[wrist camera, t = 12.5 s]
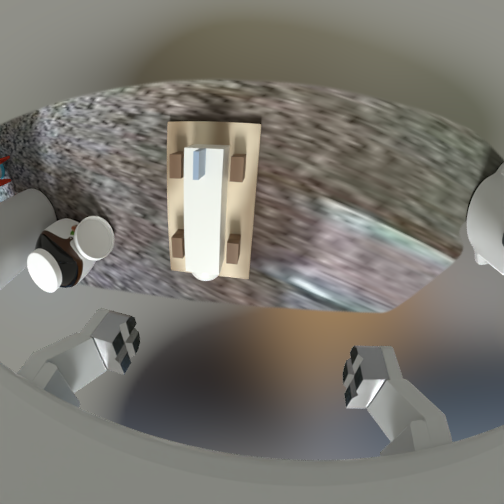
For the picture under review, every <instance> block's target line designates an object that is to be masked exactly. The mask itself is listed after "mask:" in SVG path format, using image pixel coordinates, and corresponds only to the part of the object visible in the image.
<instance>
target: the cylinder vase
mask: <svg viewBox="0 0 504 504" xmlns="http://www.w3.org/2000/svg"><path fill="white" fill-rule="evenodd" d="M56 221H57V218H56V214H55V211H54V209H53V207H52V205H51V203H50V201H49V200H48V198H47V197H46V196H45V195H44V194H43V193H42V192H40V191H39V190H36V189H27V190H24V191H22V192H20V193H18V194H16V195H14V196H12V197H10V198H8V199H6V200H4V201H2V202H0V290H1V289H2V288H3V287H4V286H5V285H6V284H7V283H9V282H10V281H11V280H12V279H13V278H14V277H15V276H16V275H18V274H19V273H20V272H21V271H22V270H23V269H25V268H26V267H27V259H28V256H29V254H31V253H32V252H33V251H34V250H35V245H36V242H37V239H38V237H39V235H40V234H41V233H42V231H43V230H44V229H46V228H47V227H48V226H50V225H52V224H53V223H55V222H56Z"/></svg>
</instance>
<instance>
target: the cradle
mask: <svg viewBox="0 0 504 504" xmlns="http://www.w3.org/2000/svg"><path fill="white" fill-rule="evenodd" d="M260 136H261V124H253V123H237V122H211V121H174V122H168V127H167V203H168V228H169V246H170V260H171V270H174V271H183V272H189V271H186V266H185V241H184V148H185V147H188V146H191V145H194V144H209V145H230V152H229V169H228V188H227V208H226V232H225V259H224V262H223V265H222V269H221V272H220V274H219V275H218V276H225V277H234V278H244V279H249V272H250V259H251V247H252V235H253V222H254V210H255V198H256V185H257V173H258V161H259V148H260ZM191 273H192V272H191Z"/></svg>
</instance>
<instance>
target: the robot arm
mask: <svg viewBox="0 0 504 504" xmlns="http://www.w3.org/2000/svg"><path fill="white" fill-rule="evenodd" d="M467 233H468V238H469V241H470V243H471V245H472V246H473V248H474V252H475V253H474V254H475V261H476V262H477V263H478V264H479V265H483V264H490V265H491V266H493V267H494V268H495V269H496V270H498V271H499V272H500V273H501V274H502V275H504V163H503V164H501V166H500V167H499V168H498V170H497V171H496V173H494V174H493V175H491V176H489V177H488V178H486V179H485V180H484V181H483V182H482V183H481V184H480V185H479V187H478V188H477V189H476V191H475V193H474V195H473V197H472V200H471V202H470V205H469V209H468V214H467ZM135 325H136V320H135V317H133V316H130V315H126V314H122V313H118V312H114V311H110V310H107V309H103V308H101V309H98V310H97V311H96V313H95V314H94V315H93V316H92V318H91V319H90V320H89V322H88V323H87V324H86V325H85V327H84V328H83V329H82V330H81V332H80V333H74V334H72V335H70V336H68V337H66V338H64V339H61V340H59V341H57V342H55V343H53V344H51V345H48V346H46V347H44V348H42V349H40V350H38V351H36V352H33V353H32V354H31V356H30V357H29V358H28V360H27V361H26V362H25V363H24V365H23V366H22V367H21V369H20V370H19V371H18V373H16V372H14V371H12V370H11V369H10V368H8V367H7V366H5V365H4V364H3V363H1V362H0V504H504V425H502V426H500V427H498V428H495V429H492V430H490V431H487V432H484V433H481V434H478V435H475V436H473V437H470V438H466V439H463V440H460V441H456V442H452V438H451V434H450V431H449V427H448V424H447V421H446V417H445V415H444V414H443V413H442V412H441V411H440V410H439V409H438V408H437V407H436V406H435V405H434V404H433V403H432V402H430V401H429V400H428V399H427V398H426V397H425V396H424V395H423V394H422V393H421V392H420V391H419V390H418V389H416V388H415V387H414V386H413V385H412V384H411V383H410V382H409V381H408V380H407V379H403V378H402V374H401V371H400V368H399V365H398V362H397V358H396V355H395V353H394V349H393V348H392V347H391V346H379V347H378V346H354V347H353V348H352V349H351V352H350V356H351V358H350V359H348V360H347V361H346V363H345V366H344V370H343V384H344V385H345V387H346V388H347V390H346V392H345V394H344V395H345V403H346V408H367V410H368V412H369V413H370V414H371V416H372V417H373V418H374V419H375V421H376V422H377V424H378V425H379V426H380V428H381V429H382V430H383V432H384V433H385V434H386V436H387V437H388V438H389V440H390V441H391V443H390V444H389V445H387V446H386V447H385V448H384V449H383V450H382V451H381V452H380V455H381V456H380V457H371V458H360V459H345V460H290V459H274V458H262V457H253V456H245V455H238V454H230V453H224V452H219V451H213V450H208V449H203V448H198V447H193V446H189V445H185V444H181V443H177V442H173V441H169V440H166V439H162V438H158V437H155V436H152V435H148V434H145V433H142V432H139V431H136V430H133V429H130V428H128V427H125V426H122V425H119V424H117V423H114V422H111V421H109V420H106V419H104V418H101V417H99V416H96V415H94V414H92V413H90V412H87V411H85V410H83V409H81V408H79V406H80V402H79V400H78V398H77V397H76V396H75V394H74V393H75V392H76V391H78V390H79V389H81V388H82V387H84V386H85V385H86V384H88V383H89V382H91V381H92V380H94V379H95V378H97V377H98V376H100V375H101V374H102V373H104V372H105V371H106V369H107V370H110V371H113V372H116V373H120V374H123V375H125V373H126V371H127V370H128V368H129V366H130V364H131V360H130V357H132V356H134V355H136V353H137V351H138V349H139V345H140V335H139V332H138V331H137V330H136V329H135V328H134V327H135Z"/></svg>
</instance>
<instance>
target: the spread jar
mask: <svg viewBox="0 0 504 504" xmlns="http://www.w3.org/2000/svg"><path fill="white" fill-rule="evenodd" d="M113 246H114V233H113V230H112V228H111V226H110V224H109V223H108V222H107V221H106V220H105V219H103V218H101V217H99V216H89V217H86V218H85V219H83V220H82V221H78V220H75V219H70V218H64V219H60V220H58V221H56V222H55V223H53V224H52V225H50V226H48V227H47V228H46V229H44V230H43V231H42V233H41V234H40V235H39V237H38V239H37V242H36V245H35V250H34V251H33V252H32V253H31V254H29V256H28V259H27V267H28V270H29V273H30V275H31V277H32V279H33V281H34V282H35V283H36V284H37V285H38V286H39V287H40V288H41V289H42V290H44V291H46V292H50V293H51V292H54V291H55V290H56V289H57V288H58V287H63V288H67V287H73V286H74V285H76V284H77V283H79V282H80V281H81V280H82V279H83V278H84V277H85V276H86V275H87V274H88V272H89V271H90V270H91V268H92V267H93V265H94V263H95V261H96V260H100V259H102V258H104V257H106V256H107V255H108V254H109V253H110V252H111V251H112V249H113Z"/></svg>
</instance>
